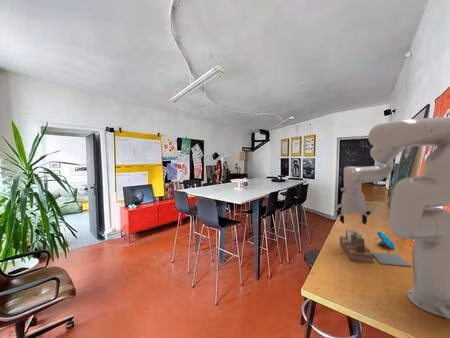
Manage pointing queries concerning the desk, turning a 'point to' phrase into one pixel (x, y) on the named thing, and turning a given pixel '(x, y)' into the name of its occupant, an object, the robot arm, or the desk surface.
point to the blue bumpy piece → (385, 240)
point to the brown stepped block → (356, 250)
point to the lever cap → (353, 237)
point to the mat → (390, 259)
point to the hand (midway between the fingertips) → (353, 223)
